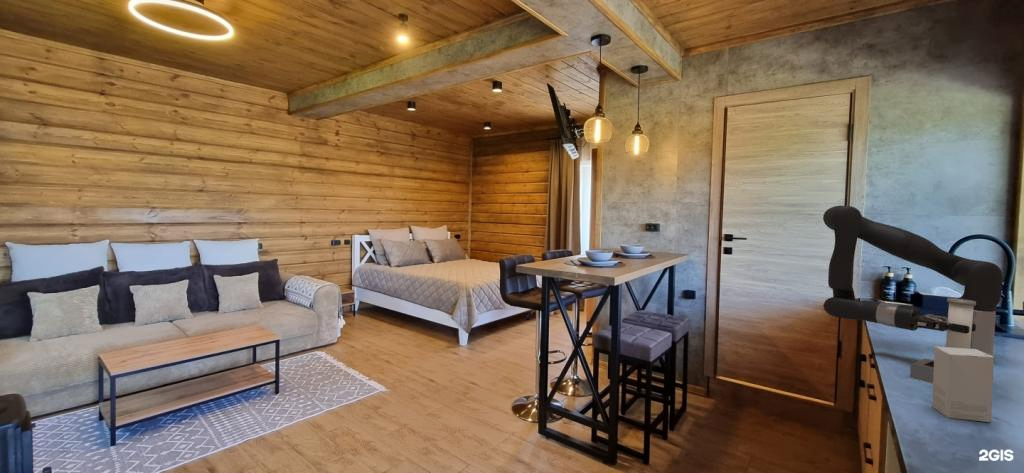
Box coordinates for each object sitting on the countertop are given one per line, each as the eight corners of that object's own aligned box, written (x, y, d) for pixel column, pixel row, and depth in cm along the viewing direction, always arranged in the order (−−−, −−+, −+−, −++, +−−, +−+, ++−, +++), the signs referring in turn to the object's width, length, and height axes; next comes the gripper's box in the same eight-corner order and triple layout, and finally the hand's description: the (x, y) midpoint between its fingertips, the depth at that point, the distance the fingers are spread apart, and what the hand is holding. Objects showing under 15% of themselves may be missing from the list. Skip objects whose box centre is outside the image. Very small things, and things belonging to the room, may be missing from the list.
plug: (946, 355, 131) (951, 297, 130) (973, 361, 125) (979, 301, 124) (939, 358, 128) (944, 299, 127) (967, 364, 123) (972, 302, 122)
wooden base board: (938, 367, 134) (939, 351, 134) (989, 379, 124) (990, 362, 124) (908, 380, 123) (908, 363, 122) (961, 394, 113) (962, 376, 113)
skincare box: (973, 411, 103) (977, 348, 102) (993, 424, 97) (997, 357, 96) (929, 406, 106) (933, 344, 105) (946, 418, 100) (950, 352, 99)
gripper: (888, 306, 135) (964, 318, 120) (907, 302, 142) (981, 313, 127) (887, 329, 135) (962, 344, 120) (906, 325, 142) (979, 338, 127)
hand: (972, 328), depth 124 cm, fingers closed on plug, 5 cm apart
